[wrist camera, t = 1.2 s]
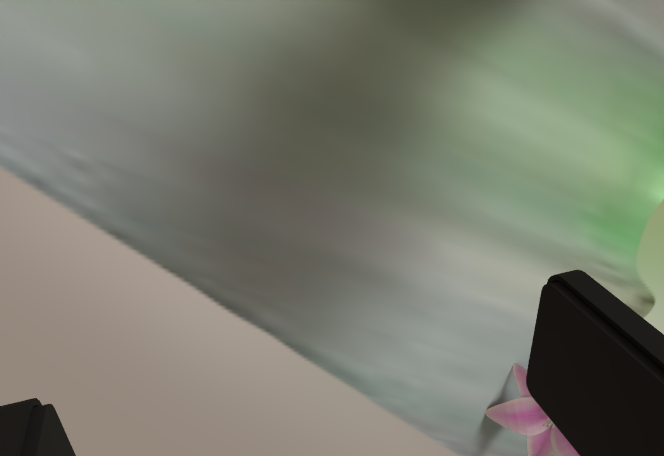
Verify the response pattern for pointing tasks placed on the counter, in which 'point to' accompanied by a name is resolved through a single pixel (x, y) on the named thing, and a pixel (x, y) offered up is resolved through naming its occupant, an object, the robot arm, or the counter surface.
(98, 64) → the counter surface
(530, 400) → the lily
